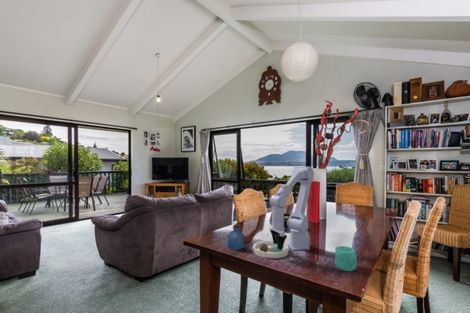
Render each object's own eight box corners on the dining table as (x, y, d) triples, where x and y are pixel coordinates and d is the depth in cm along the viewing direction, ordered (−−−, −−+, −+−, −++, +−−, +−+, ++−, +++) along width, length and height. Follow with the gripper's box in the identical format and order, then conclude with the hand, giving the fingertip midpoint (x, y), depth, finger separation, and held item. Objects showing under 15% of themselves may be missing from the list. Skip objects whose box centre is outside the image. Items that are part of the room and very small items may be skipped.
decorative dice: (335, 269, 106) (335, 251, 106) (335, 262, 114) (335, 245, 114) (356, 272, 103) (356, 253, 104) (354, 265, 111) (354, 247, 111)
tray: (282, 244, 137) (282, 240, 137) (293, 257, 119) (293, 252, 119) (250, 245, 135) (250, 241, 135) (257, 259, 117) (257, 254, 117)
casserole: (295, 234, 156) (295, 221, 156) (268, 230, 166) (268, 217, 166) (306, 225, 177) (306, 213, 177) (282, 222, 187) (282, 211, 187)
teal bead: (280, 251, 125) (280, 242, 125) (283, 254, 121) (283, 245, 121) (272, 251, 125) (272, 242, 125) (274, 254, 120) (274, 245, 121)
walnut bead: (268, 250, 125) (266, 241, 126) (269, 251, 121) (266, 242, 122) (260, 253, 125) (257, 244, 126) (261, 254, 121) (258, 245, 122)
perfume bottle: (235, 244, 137) (235, 223, 138) (244, 247, 134) (244, 224, 134) (227, 247, 133) (227, 225, 133) (236, 250, 129) (236, 227, 129)
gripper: (266, 216, 130) (266, 241, 130) (274, 223, 116) (274, 252, 115) (279, 215, 131) (279, 241, 131) (288, 222, 116) (288, 251, 116)
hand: (277, 246), depth 123 cm, fingers open, 7 cm apart
